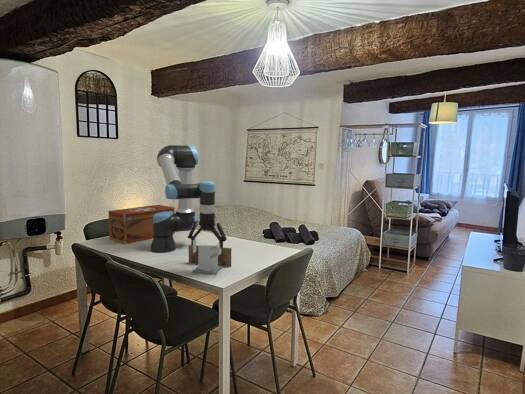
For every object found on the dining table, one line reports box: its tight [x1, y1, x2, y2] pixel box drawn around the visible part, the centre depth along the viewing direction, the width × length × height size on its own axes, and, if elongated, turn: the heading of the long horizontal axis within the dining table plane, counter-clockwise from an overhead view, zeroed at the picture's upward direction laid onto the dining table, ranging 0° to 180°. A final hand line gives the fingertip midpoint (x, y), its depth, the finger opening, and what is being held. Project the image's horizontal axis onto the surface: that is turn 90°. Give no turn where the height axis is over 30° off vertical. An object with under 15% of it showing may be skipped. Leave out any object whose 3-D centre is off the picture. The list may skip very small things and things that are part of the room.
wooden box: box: [107, 204, 176, 245], centre depth 235 cm, size 20×41×20 cm, turn 143°
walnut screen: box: [188, 244, 232, 268], centre depth 178 cm, size 24×1×10 cm, turn 79°
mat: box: [192, 266, 223, 276], centre depth 169 cm, size 12×10×1 cm
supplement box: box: [197, 242, 218, 272], centre depth 168 cm, size 7×7×13 cm
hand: (207, 253), depth 169 cm, fingers open, 13 cm apart
